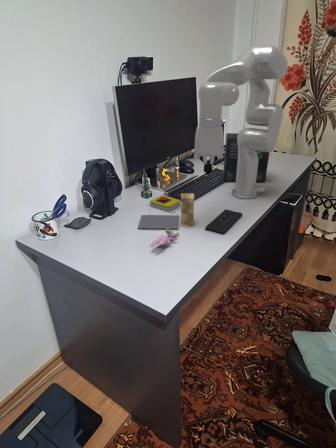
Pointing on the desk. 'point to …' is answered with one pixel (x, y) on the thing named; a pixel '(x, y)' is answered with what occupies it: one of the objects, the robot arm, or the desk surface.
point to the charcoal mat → (159, 222)
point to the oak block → (187, 209)
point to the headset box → (232, 160)
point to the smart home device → (223, 222)
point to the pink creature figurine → (165, 239)
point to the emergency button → (166, 204)
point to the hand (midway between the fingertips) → (207, 173)
